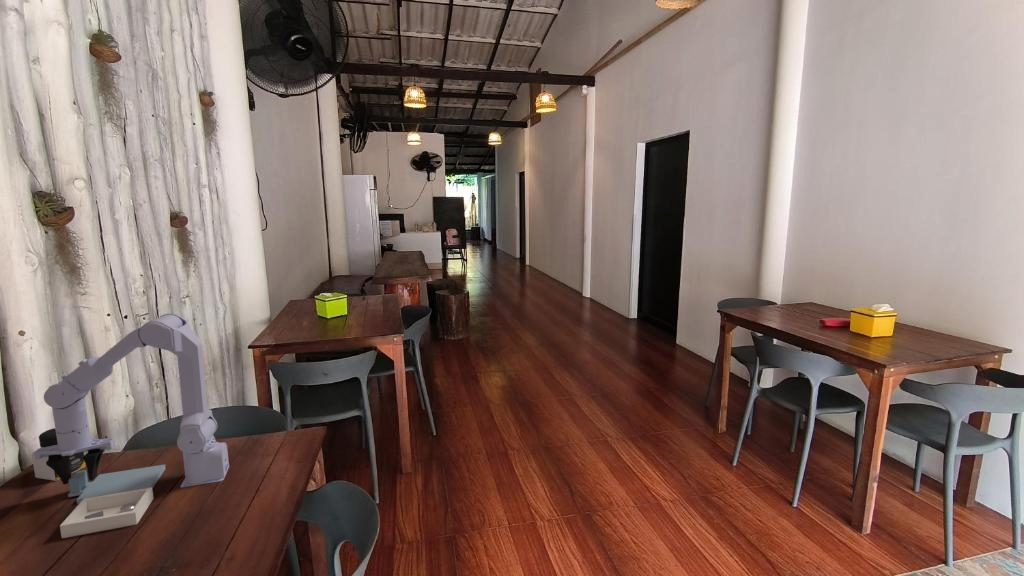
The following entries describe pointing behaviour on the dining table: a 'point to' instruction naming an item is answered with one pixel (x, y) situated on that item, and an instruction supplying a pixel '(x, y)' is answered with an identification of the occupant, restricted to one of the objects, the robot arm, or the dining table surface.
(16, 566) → the dining table surface
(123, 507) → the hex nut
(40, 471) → the medicine bottle
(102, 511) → the rubber block
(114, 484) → the lid
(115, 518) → the tub
